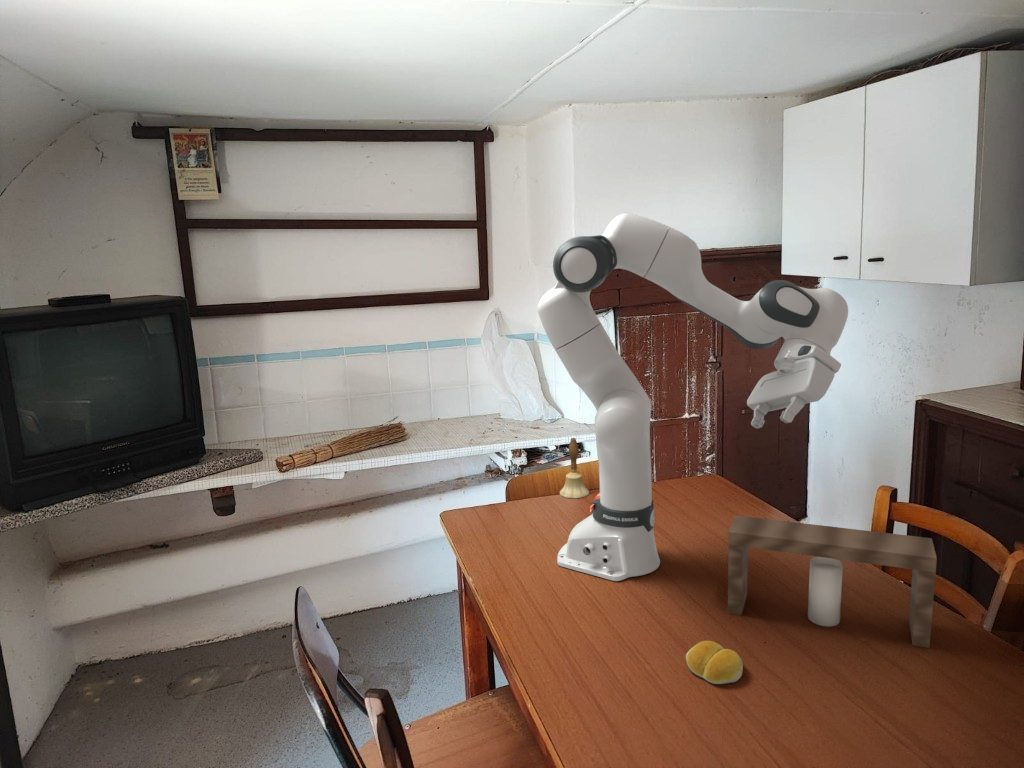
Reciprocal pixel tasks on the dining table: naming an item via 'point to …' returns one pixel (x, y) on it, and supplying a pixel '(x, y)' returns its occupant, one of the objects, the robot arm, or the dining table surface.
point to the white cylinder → (825, 591)
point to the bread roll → (714, 663)
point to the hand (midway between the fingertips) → (769, 423)
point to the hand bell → (574, 476)
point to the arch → (837, 546)
